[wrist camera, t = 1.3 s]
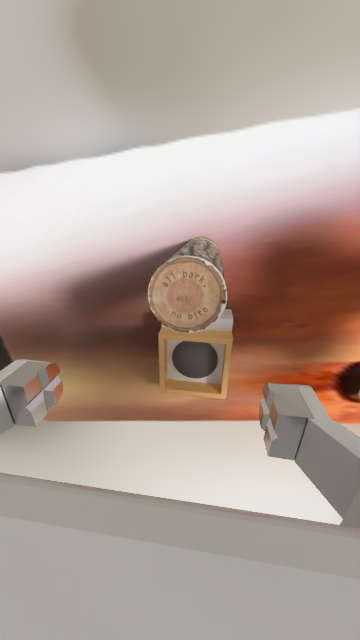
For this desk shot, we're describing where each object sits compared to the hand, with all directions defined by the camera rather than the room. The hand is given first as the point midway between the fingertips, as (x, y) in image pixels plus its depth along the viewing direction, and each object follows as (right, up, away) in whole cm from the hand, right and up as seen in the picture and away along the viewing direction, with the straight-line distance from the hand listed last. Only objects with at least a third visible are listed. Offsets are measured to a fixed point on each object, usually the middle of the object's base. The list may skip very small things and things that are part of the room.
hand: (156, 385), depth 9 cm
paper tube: (+5, +14, +33) cm, 37 cm away
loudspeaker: (+4, -3, +41) cm, 41 cm away
